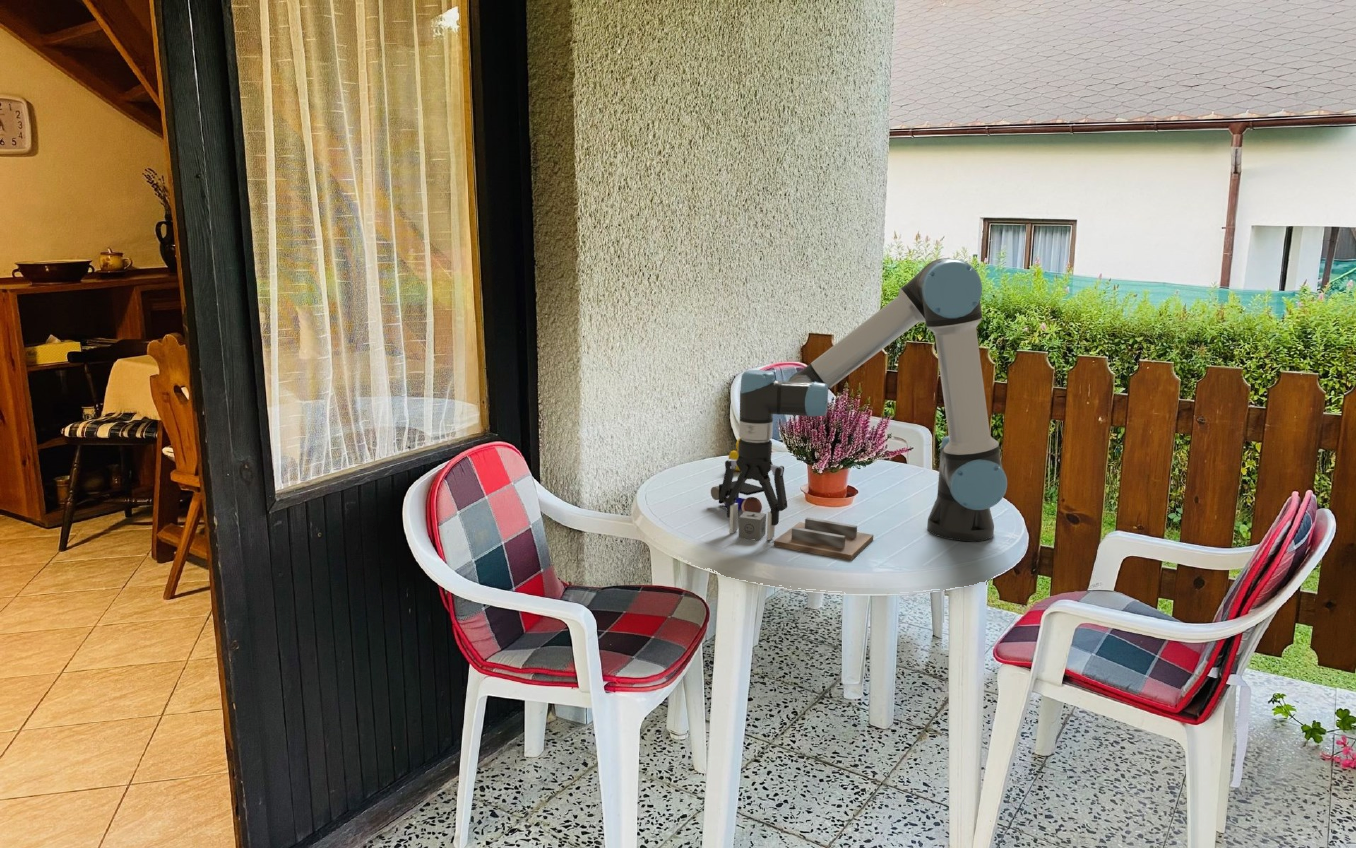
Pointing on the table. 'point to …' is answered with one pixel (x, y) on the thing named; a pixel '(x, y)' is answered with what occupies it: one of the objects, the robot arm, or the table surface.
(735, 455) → the duckling
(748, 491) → the figurine character
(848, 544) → the cradle
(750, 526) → the dice cube
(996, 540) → the table surface
